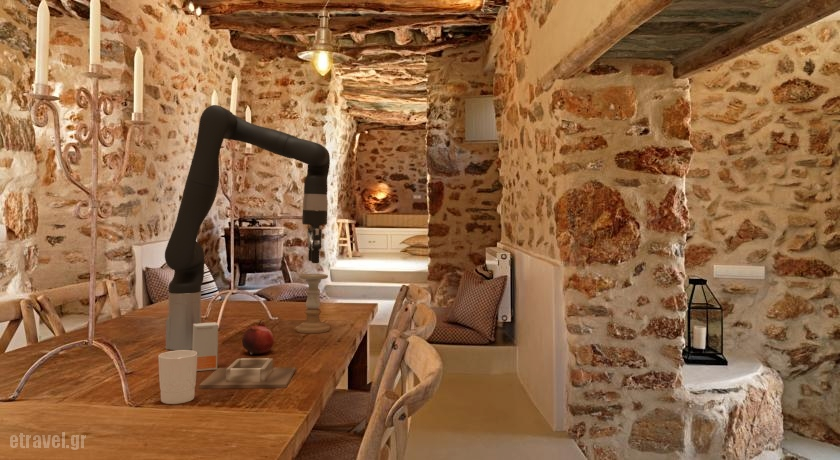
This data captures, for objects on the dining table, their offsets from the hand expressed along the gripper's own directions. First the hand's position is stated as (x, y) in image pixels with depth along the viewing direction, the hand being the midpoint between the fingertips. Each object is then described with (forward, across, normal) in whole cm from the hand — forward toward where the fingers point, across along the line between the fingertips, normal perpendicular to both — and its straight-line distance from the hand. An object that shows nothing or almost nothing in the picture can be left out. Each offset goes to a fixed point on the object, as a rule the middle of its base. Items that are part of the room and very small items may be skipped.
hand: (313, 262), depth 173 cm
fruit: (+28, +1, -16) cm, 32 cm away
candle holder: (+27, -31, +4) cm, 42 cm away
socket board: (+27, +29, -18) cm, 44 cm away
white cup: (+28, +42, -34) cm, 60 cm away
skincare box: (+28, +16, -30) cm, 44 cm away
